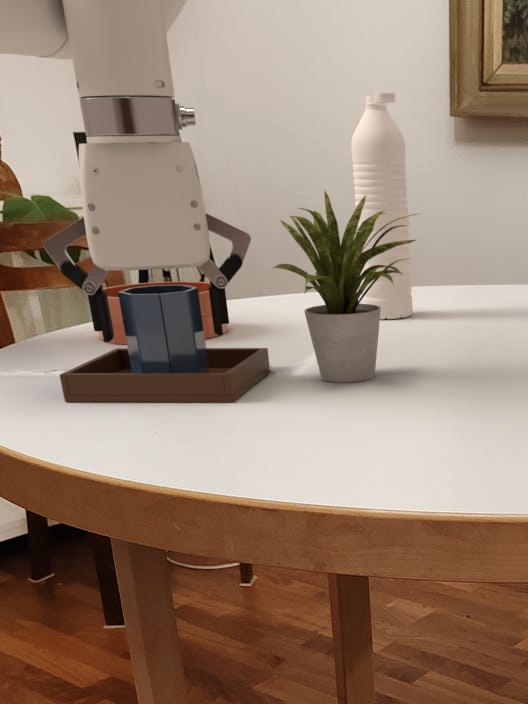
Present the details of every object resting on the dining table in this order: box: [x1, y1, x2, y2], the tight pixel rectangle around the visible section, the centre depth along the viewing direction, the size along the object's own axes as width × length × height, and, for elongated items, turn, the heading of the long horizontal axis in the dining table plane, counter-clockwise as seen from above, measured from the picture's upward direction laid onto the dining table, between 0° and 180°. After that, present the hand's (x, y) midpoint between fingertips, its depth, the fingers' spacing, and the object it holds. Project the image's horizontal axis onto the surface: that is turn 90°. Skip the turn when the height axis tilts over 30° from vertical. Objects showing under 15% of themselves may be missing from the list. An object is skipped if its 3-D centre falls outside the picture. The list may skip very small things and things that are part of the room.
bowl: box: [98, 280, 228, 345], centre depth 113 cm, size 14×14×6 cm
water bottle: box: [350, 92, 414, 320], centre depth 120 cm, size 9×6×25 cm
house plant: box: [272, 190, 422, 383], centre depth 89 cm, size 14×14×16 cm
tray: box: [59, 347, 271, 403], centre depth 91 cm, size 15×12×2 cm
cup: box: [118, 285, 209, 373], centre depth 89 cm, size 6×6×8 cm
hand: (164, 336), depth 89 cm, fingers open, 9 cm apart
